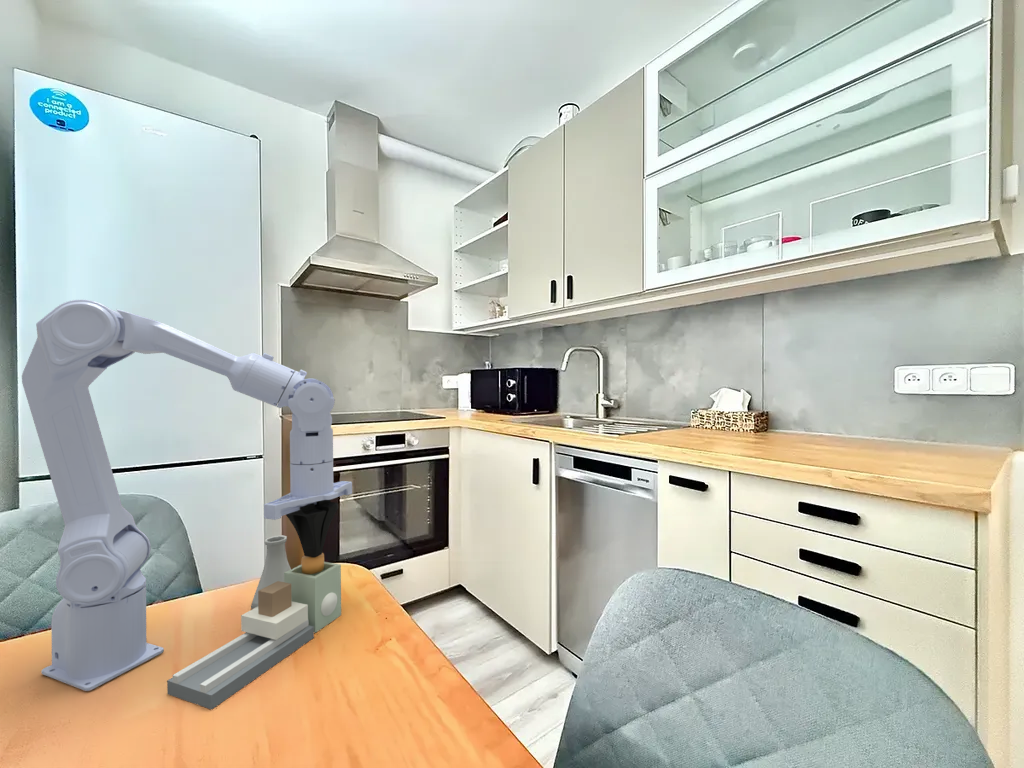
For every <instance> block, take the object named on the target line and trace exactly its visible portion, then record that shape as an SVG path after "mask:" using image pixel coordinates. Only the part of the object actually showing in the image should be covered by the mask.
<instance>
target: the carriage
mask: <svg viewBox="0 0 1024 768" xmlns="http://www.w3.org/2000/svg"><path fill="white" fill-rule="evenodd" d="M240 620H241V623H240V625H241V627H240V628H241V632H243V633H246V632H247V633H251V634H255V635H259V636H263V637H267V638H271V639H275V640H277V639H279V638H280V637H282V636H283V635H285V634H286V633H288V632H289V631H291V630H293V629H294V628H296V627H297V626H299V625H300V624H302V623H303V622H305V621H307V620H308V605H307V604H302V603H297V602H292V601H291V583H285V582H280V581H277V582H275V583H273V584H271V585H269V586H267V587H265V588H263V589H261V590H259V591H258V607H256V608H254V609H252V608H251V610H248V611H247V612H245V613H243V614H242V615H241V616H240Z"/></svg>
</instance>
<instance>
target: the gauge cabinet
mask: <svg viewBox="0 0 1024 768" xmlns="http://www.w3.org/2000/svg"><path fill="white" fill-rule="evenodd" d="M341 567H342V564H339V563H335V562H328V561H324V570H323V571H321V572H318V573H315V574H303V573H302V563H301V564H299V565H297V566H295V567H293V568H292V569H291V570H289V571H287V572H285V573H284V582H285V583H291V601H292V602H297V603H302V604H307V605H308V623H309V626H313V627H314V634H315V633H317V632H319V631H320V630H322V629H323V628H325V627H326V626H328V625H329V624H330V623H332V622H333V621H335V620H336V619H338V618H339V617H340V616H342V575H341V574H342V573H341V572H342V569H341Z"/></svg>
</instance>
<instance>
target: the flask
mask: <svg viewBox="0 0 1024 768" xmlns="http://www.w3.org/2000/svg"><path fill="white" fill-rule="evenodd" d="M287 537H288V536H287V535H284V534H283V535H282V534H280V535H273V536H270V537H267V538H265V539H264V544H265V546H266V556H265V562H264V567H263V569H262V572H261V574H260V575H261V576H260V579H259V581H258V585H257V587H256V590H255V592H254V595H253V598H252V602H251V605H250V609H251V610H252V609H254V608H256V607H258V591H259V590H261V589H263V588H265V587H267V586H269V585H271V584H273V583H275V582H277V581H280V582H284V573H285V572H287V571H289V570H291V566H290V563H289V561H288V556H287V552H286V551H287V550H286V542H287V539H288V538H287Z"/></svg>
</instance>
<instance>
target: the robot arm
mask: <svg viewBox="0 0 1024 768" xmlns="http://www.w3.org/2000/svg"><path fill="white" fill-rule="evenodd" d="M36 335H37V337H36V340H35V342H34V345H33V348H32V349H31V351H30V355H29V356H28V358H27V362H26V364H25V366H24V368H23V371H22V375H21V384H22V387H23V390H24V393H25V396H26V400H27V404H28V406H29V411H30V414H31V416H32V417H31V418H32V420H33V423H34V426H35V429H36V434H37V436H38V439H39V443H40V446H41V449H42V454H43V457H44V460H45V464H46V466H47V470H48V473H49V477H50V479H51V483H52V486H53V489H54V492H55V493H54V494H55V497H56V499H57V503H58V505H59V509H60V510H59V511H60V513H61V516H62V519H63V523H64V529H63V532H62V535H61V537H60V541H59V544H58V548H57V552H58V557H59V561H60V564H59V565H60V566H59V569H58V572H57V574H56V578H55V587H56V590H57V591H58V593H59V595H60V596H61V597H62V599H61V600H59V601H60V602H59V603H58V604H57V605H56V606H55V609H54V611H53V613H52V616H51V623H50V624H51V625H50V626H51V664H50V665H48V666H46V667H44V668H42V669H41V671H40V672H41V674H42V675H44V676H47V677H49V678H51V679H54V680H57V681H59V682H61V683H65V684H67V685H68V686H71V687H75V688H77V689H79V690H83V691H85V692H89V691H92V690H94V689H96V688H98V687H99V686H101V685H103V684H106V683H107V682H109V681H111V680H113V679H115V678H117V677H118V676H121V675H122V674H124V673H127V672H128V671H130V670H132V669H134V668H136V667H138V666H139V665H141V664H143V663H146V662H147V661H149V660H151V659H153V658H155V657H156V656H159V655H161V654H162V653H163V652H164V651H165V650H164V647H162V646H158V645H155V644H153V643H149V642H147V578H146V576H145V575H144V574H143V572H142V570H141V567H142V566H143V565H144V564H145V563H146V562H147V560H148V559H149V557H150V554H151V551H152V550H151V549H152V548H151V547H152V544H151V541H150V539H149V537H148V536H147V535H146V534H145V533H144V532H143V531H141V530H140V528H138V526H137V524H136V522H135V519H134V516H133V515H132V513H131V512H130V511H128V510H127V509H126V508H125V507H124V506H123V505H122V501H121V497H120V494H119V490H118V486H117V484H116V481H115V477H114V474H113V470H112V467H111V463H110V459H109V456H108V452H107V449H106V446H105V442H104V438H103V435H102V431H101V428H100V426H99V425H100V424H99V420H98V417H97V414H96V411H95V408H94V404H93V400H92V397H91V394H90V390H89V388H90V385H92V383H93V382H94V381H95V380H96V379H97V378H99V377H100V375H101V374H102V373H103V372H104V371H105V370H107V368H109V367H111V366H112V365H115V364H117V363H118V362H120V361H123V360H125V359H126V358H128V357H130V356H132V355H133V354H135V353H139V354H143V355H151V354H153V355H154V354H163V353H164V354H166V355H168V356H171V357H174V358H177V359H179V360H182V361H185V362H187V363H190V364H192V365H195V366H198V367H201V368H202V369H206V370H209V371H211V372H214V373H217V374H219V375H222V376H224V377H227V379H228V381H229V382H230V387H231V388H232V390H233V391H235V392H237V393H240V394H243V395H245V396H248V397H250V398H253V399H255V400H258V401H260V402H263V403H266V404H268V405H271V406H273V407H276V408H278V409H282V408H286V407H288V408H289V409H290V411H291V430H290V431H289V461H290V462H289V471H290V472H289V474H290V478H289V479H290V485H289V486H290V489H289V491H290V492H289V493H287V494H284V495H283V496H280V497H279V498H277V499H275V500H272V501H269V502H267V503H264V504H263V518H264V519H265V520H266V519H267V520H272V521H273V520H274V521H276V520H279V519H281V518H282V517H283V516H286V517H287V519H288V520H289V521H290V523H291V524H292V526H293V527H294V529H295V532H296V534H297V536H298V539H299V541H300V545H301V549H302V552H303V556H308V557H317V556H319V555H321V554H322V553H323V551H324V550H323V549H324V545H325V542H326V538H327V535H328V531H329V528H330V526H331V523H332V521H333V519H334V517H335V515H336V513H337V512H338V511H339V503H338V502H334V501H332V500H334V499H336V498H338V497H342V496H349V495H352V494H353V482H352V481H347V480H346V481H345V480H342V481H337V482H334V430H333V428H332V424H333V416H332V413H331V412H332V410H333V409H334V406H335V401H336V399H335V398H334V395H333V394H334V393H333V391H332V389H331V388H330V386H328V384H326V383H325V382H324V381H322V380H319V379H318V378H312V377H311V378H306V376H307V374H308V372H307V371H306V370H303V369H300V370H299V371H297V370H295V369H292V368H290V367H289V366H285V364H284V365H283V364H281V363H279V362H276V361H275V360H274V355H271V354H268V353H267V352H264V353H263V354H262V355H260V354H258V353H255V352H251V353H247V354H245V355H240V356H239V355H238V356H237V355H235V354H233V353H230V352H228V351H226V350H223V349H222V348H219V347H217V346H215V345H213V344H211V343H209V342H206V341H204V340H202V339H199V338H197V337H195V336H193V335H191V334H188V333H186V332H184V331H181V330H179V329H178V328H175V327H172V326H171V325H168V324H166V323H163V322H161V321H158V320H155V319H153V318H152V319H151V318H149V317H145V316H142V315H139V314H135V313H133V312H130V311H125V310H122V309H118V308H116V310H113V309H112V308H109V307H108V306H106V305H105V304H103V303H101V302H98V301H95V300H90V299H72V300H69V301H66V302H63V303H61V304H59V305H58V306H56V307H54V309H52V310H51V311H50V312H49V313H48V314H46V315H44V317H42V318H41V319H40V320H39V321H37V322H36ZM331 501H332V502H331Z"/></svg>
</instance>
